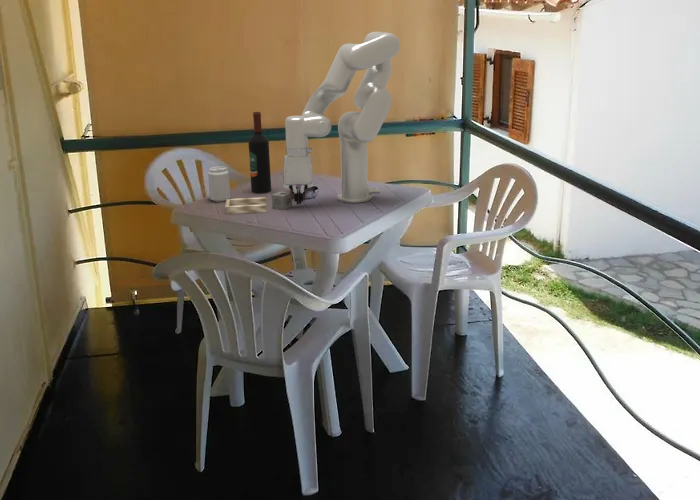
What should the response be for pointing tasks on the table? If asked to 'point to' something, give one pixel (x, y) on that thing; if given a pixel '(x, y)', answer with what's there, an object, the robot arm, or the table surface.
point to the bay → (246, 205)
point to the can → (219, 184)
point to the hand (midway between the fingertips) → (298, 203)
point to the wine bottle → (259, 158)
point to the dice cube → (282, 200)
